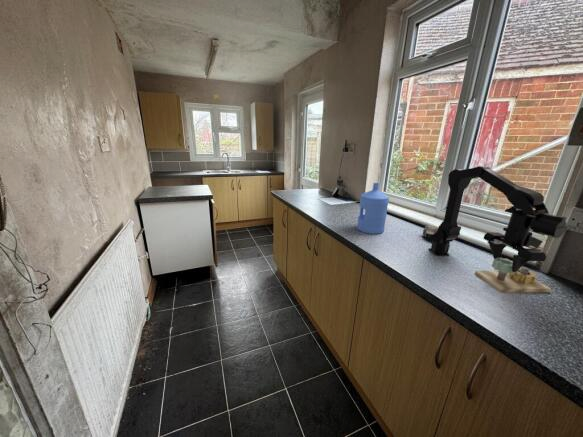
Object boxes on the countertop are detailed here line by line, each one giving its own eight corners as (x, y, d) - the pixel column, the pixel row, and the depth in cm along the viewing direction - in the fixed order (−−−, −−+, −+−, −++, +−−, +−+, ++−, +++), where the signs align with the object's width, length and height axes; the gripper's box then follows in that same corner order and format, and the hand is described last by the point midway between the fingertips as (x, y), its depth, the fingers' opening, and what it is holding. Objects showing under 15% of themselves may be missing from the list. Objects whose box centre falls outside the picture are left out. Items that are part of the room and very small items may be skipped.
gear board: (500, 292, 83) (505, 277, 81) (474, 273, 95) (478, 260, 93) (549, 292, 84) (555, 277, 82) (517, 274, 95) (522, 260, 93)
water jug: (386, 228, 143) (393, 182, 134) (380, 236, 130) (387, 187, 121) (361, 223, 151) (366, 180, 142) (353, 230, 138) (358, 183, 129)
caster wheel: (440, 248, 123) (420, 242, 127) (441, 237, 131) (421, 231, 135) (445, 238, 119) (424, 232, 123) (446, 227, 127) (426, 222, 131)
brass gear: (528, 286, 84) (531, 279, 83) (504, 276, 90) (507, 269, 90) (538, 282, 87) (541, 275, 86) (514, 272, 93) (517, 265, 92)
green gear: (503, 274, 84) (505, 266, 83) (486, 264, 91) (489, 257, 90) (522, 274, 84) (525, 267, 83) (504, 264, 91) (507, 257, 90)
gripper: (571, 238, 73) (552, 280, 78) (516, 219, 91) (503, 254, 96) (536, 237, 73) (520, 280, 78) (488, 218, 91) (477, 254, 96)
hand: (504, 266), depth 87 cm, fingers closed on green gear, 7 cm apart
